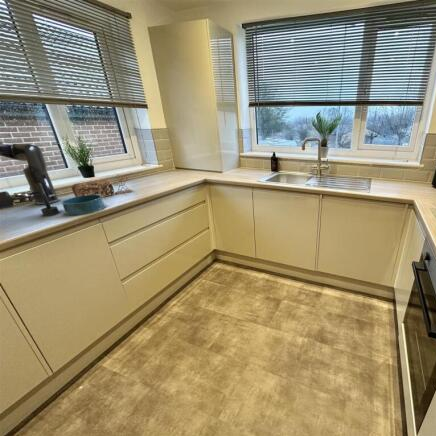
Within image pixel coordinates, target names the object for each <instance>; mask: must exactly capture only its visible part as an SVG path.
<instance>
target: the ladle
mask: <svg viewBox="0 0 436 436" xmlns="http://www.w3.org/2000/svg"><path fill="white" fill-rule="evenodd" d="M37 187H38V189H39V191H40V194H42V193H44V194H45V192H44V189H43V187H42V185H41V184H40V183H38V184H37ZM45 196H46V194H45ZM43 201H44V203H45V204H44V206H45V207H44V208H41V209H40V211H41V214H42V215H43V217H48V216H55V215H58V214H60V210H59V208H58V206H54V205H53V206H52V205H51V203H49V201H48V199H47V197H45V198H43Z"/></svg>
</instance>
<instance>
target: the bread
mask: <svg viewBox="0 0 436 436" xmlns="http://www.w3.org/2000/svg"><path fill="white" fill-rule="evenodd" d="M71 190H72V193H73V195H74V197H79V196H85V195H101V196H102V198H106V197H111V196H114V195H115V189H114V186H113V184H112V182H111V181H109V180H105V179H104V180H90V181H85V182H79V183H74V184H73V185H72V186H71Z"/></svg>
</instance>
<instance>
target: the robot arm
mask: <svg viewBox="0 0 436 436" xmlns="http://www.w3.org/2000/svg"><path fill="white" fill-rule="evenodd" d="M0 157H3V158H7V159H10V160H16V161H20V162H26V163H27V167H24V168H23V169H22V173H23V174H24V177H25V180H26V182H27V183H28V186H29V188H28V189H29V190H27V191H19V192H14V193H13V194H10V193H9V192H8V191H6V190H5V191H0V210H3V209H9V208H14V207H15V205H18V204H23V203H30V202H35V204H37V205H45V203H44V201H43V198H45V197H47V199H48V201H49V204H53V203H57V202H59V201H60V198H59V197H58V196H57V192H56V190H55V187H54V185H53V183H52V180H51V177H50V176H49V175H50V174H49V173H48V169H47V168H48V167H47V163H46V160H45V157H44V153H43V151H42V150H41V148H40V146H38V145H37V144H35V143H30V142H29V143H14V142H13V143H12V142H5V141H0ZM38 183H40V184H41V185H42V187H43V189H44V192H45V194H46V196H45V194H44V193H42V194H40V191H39V189H38V187H37V184H38Z"/></svg>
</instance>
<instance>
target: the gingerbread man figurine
mask: <svg viewBox="0 0 436 436" xmlns="http://www.w3.org/2000/svg"><path fill="white" fill-rule="evenodd" d="M115 178H116V180H114V182H113V185H114V186H115V187H118V188H117V191H114V194H115V195H123V194H127V193H133V190H132V189H130V188H129V187H124V186H126V184H125V183H126V182H128V179H129V178H128V177H126V176H123V175H122V174H120V175H119V174H116V176H115ZM117 181H118V182H117ZM123 181H124V183H122V182H123ZM116 182H117V183H116ZM121 186H122V187H121ZM120 187H121V189H120ZM123 189H124V190H123Z"/></svg>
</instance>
